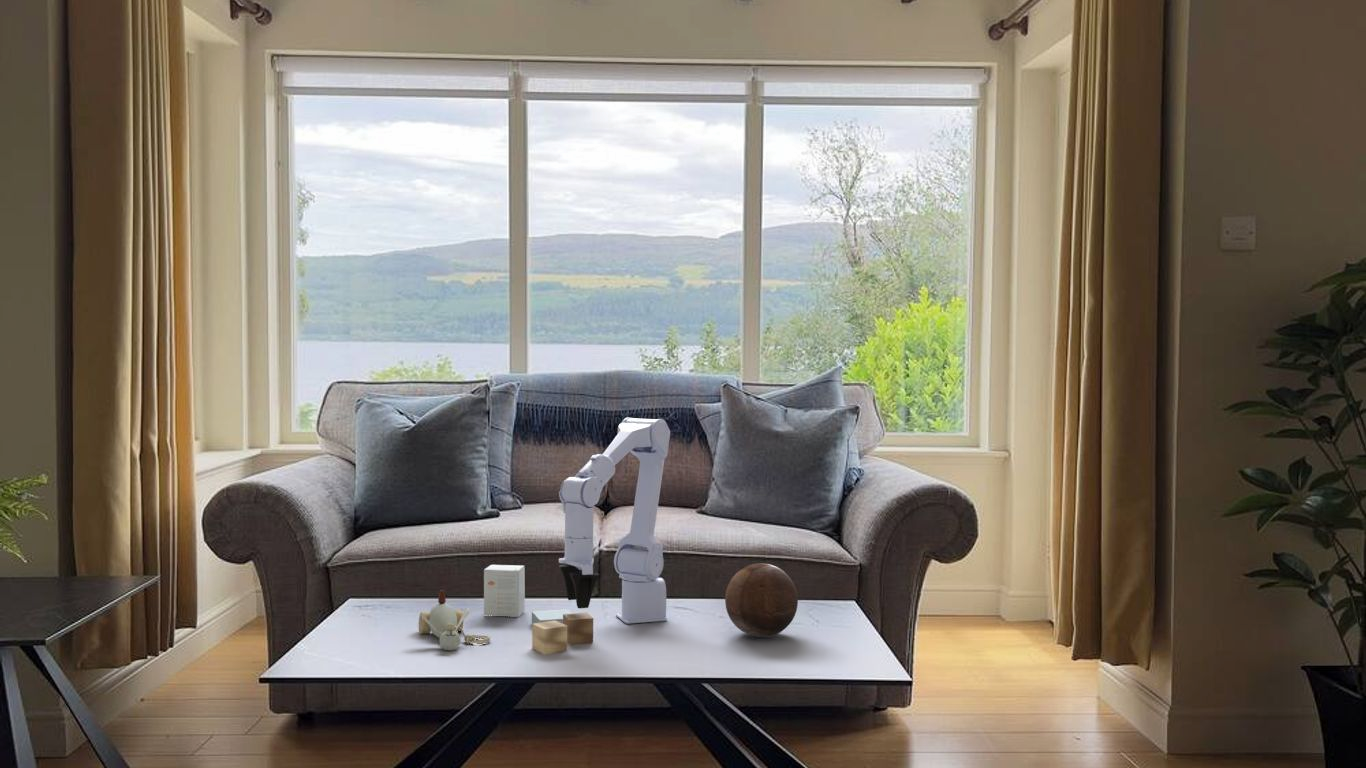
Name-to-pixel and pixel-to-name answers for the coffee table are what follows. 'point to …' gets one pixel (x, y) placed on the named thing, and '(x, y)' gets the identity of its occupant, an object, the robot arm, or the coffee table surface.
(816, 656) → the coffee table surface
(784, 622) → the wooden sphere
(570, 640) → the walnut cube
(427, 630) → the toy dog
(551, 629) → the oak cube
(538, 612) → the slab
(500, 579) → the small box
